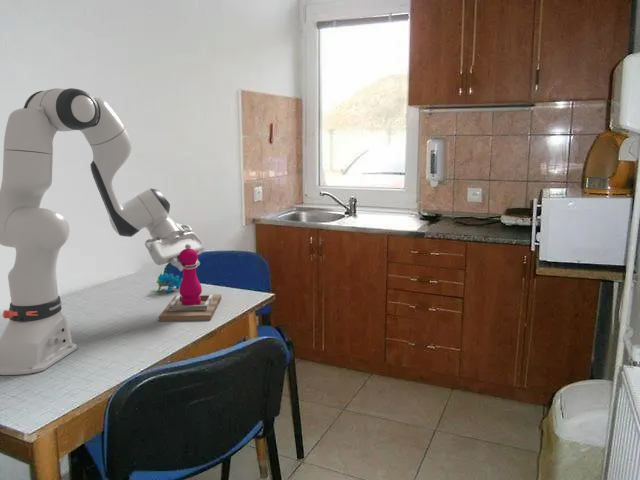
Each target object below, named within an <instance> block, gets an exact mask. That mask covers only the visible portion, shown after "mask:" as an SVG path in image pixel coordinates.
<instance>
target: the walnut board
mask: <svg viewBox="0 0 640 480" xmlns="http://www.w3.org/2000/svg"><path fill="white" fill-rule="evenodd" d="M199 296H200V297H201V303H200V304H198V305H182V301H181V299H182V298H183V297H182V296H181V295H180V294H179V295H178V294H177V295H174V297H173V298H172V299H171V300H170V302H169V303H168V304H167V306H166V307H165V308H164V309H163V311H162V312H161V313H160V314H159V315H158V321H159V322H172V321H173V322H175V321H176V322H178V321H181V322H182V321H184V322H185V321H211V320H212V318H213V317H214V316H215V315H214V314H215V313H216V310H217V309H218V306H219V304H220V302H221V300H222V294H200V295H199Z"/></svg>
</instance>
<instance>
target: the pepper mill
mask: <svg viewBox="0 0 640 480" xmlns="http://www.w3.org/2000/svg"><path fill="white" fill-rule="evenodd" d="M185 248H186V249H184V250H182V251H181V252H180V255H179V259H180V260H179V262H180V263H181V264H184V265H185V266H186V269H185V270H184V271H182V273H183V274H182V278H183V279H182V282H181V285H180V288H178V289H179V291H178V292H179V295H181V296H182V297H183V298H182V299H181V301H182V305H198V304H200V303H201V297H200V296H199V295H202V292H203V288H202V285H201V282H200V281H199V279H198V276H197V268H198V266H197V263H196V261H197V259H198V258H199V255H198V253H197V252H196V251H195V250H194V249H190V248H191V245H190V244H187V245H186V246H185ZM198 260H199V259H198Z"/></svg>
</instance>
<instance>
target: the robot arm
mask: <svg viewBox="0 0 640 480" xmlns="http://www.w3.org/2000/svg"><path fill="white" fill-rule="evenodd" d="M72 131H80V132H81V133H82V134H83V135H84V138H85V139H86V141H87V143H88V144H89V147H90V148H91V151H92V161H91V163H90V164H89V165H90V172H91V175H92V178H93V179H94V182H95V183H94V184H95V186H96V187H97V190H98V193H99V196H100V197H101V199H102V202H103V204H104V206H105V210H106V212H107V215H108V218H109V219H108V220H109V222H110V225H111V227H112V229H113V230H114V231H115V233H116V234H118V235H119V236H120V237H130V238H132V237H133V236H135V235H136V234H137V233H139V232H140V231H141V230H143V229H144V228H145V229H146V230H147V231H148V232H149V235H150V237H151V238H150V239H147V240H146V241H145V243H144V246H145V247H146V249H147V250H148V253H149V256H150V258H151V259H152V260H153V263H154V264H156V265H158V266H162V265H165V264H169V263H170V264H171V265H172V266H173V267H175V268H177V270H179V272H183V271H184V270H185V269H186V266H185V265H184V264H182V262H181V261H180V259H179V255H180V252H181V251H182V250H184V249H186V248H185V246H186V245H187V244H190V245H191V248H190V249H194V250H195V251H196V252H197V253H198V256H199V255H201V254H202V253H203V252H204V251H205V244H204V242H203V241H202V240H201V238H200V237H199V235H197V234H196V233H195V232H194V231H193V228H192V227H191V226H190V225H188V224H181V223H178V222H177V223H176V222H175V221H174V220H173V219H172V218H170V216H169V213H170V209H171V204H170V202H169V201H168V200H167V198H166V197H165V195H163V194H162V192H161V190H159V189H156V188H148V189H146V190H144V191H142V192H140V193H139V194H138V195H136V196H134V197H133V198H131V199H129V200H128V201H126V202H124V203H122V204H121V203H120V202H119V199H118V197H117V194H116V193H115V190H114V187H113V179H114V178H115V176H116V174H117V172H118V171H119V170H120V168H121V167H122V166H123V165H124V164H125V163H126V162H127V160H128V158H129V157H130V155H131V151H132V148H133V147H132V146H133V144H132V139H131V136H130V135H129V132H128V131H127V129H126V127H125V125H124V124H123V122H122V121H121V119H120V117H119V116H118V115H117V113H116V111H114V110H113V108H112V107H111V105H109V103H108V102H107V101H106V100H105V99H103V98H100V97H93V96H92V95H91V94H89V93H88V92H86V91H84V90H82V89H79V88H73V87H72V88H71V87H69V88H58V87H57V88H52V89H51V88H50V89H45V90H39V91H36V92H35V93H33V94H31V95H30V96H29V97H28V98H27V100H26V101H25V103H24V105H23V107H22V108H18V109H15V110H13V111H12V112H11V113H10V114H9V115H8V119H7V122H6V127H5V132H4V133H5V134H4V139H3V140H4V141H3V157H2V158H3V160H2V162H3V163H2V179H1V186H0V245H1V246H4V247H7V248H14V249H15V258H14V260H15V261H14V264H13V267H12V268H11V269H10V270H9V272H8V274H7V281H8V286H9V294H10V303H9V308H8V309H7V310H3V312H2V318H3V319H8V320H9V321H8V323H7V325H6V327H5V329H4V330H3V333H2V334H1V336H0V376H1V375H2V376H14V375H15V376H16V375H28V374H33V373H34V374H35V373H40V372H43V371H45V370H47V369H48V368H50V367H51V366H53V365H54V364H56V363H58V362H59V361H61V360H62V359H63V358H65V357H66V356H68V355H69V354H71V353H73V352H74V351H76V350H77V349H78V346H77V343H74V342H73V339H72V335H71V329H70V325H69V320H68V319H67V317H65V316H64V314H63V313H62V309H63V307H62V300H61V296H60V295H59V289H58V280H57V279H58V278H57V262H58V257H59V254H60V250H61V248H62V247H63V246H64V245H65V244H66V242H67V241H68V239H69V236H70V226H69V223H68V220H67V219H66V218H65V217H64V216H63V215H62V214H60V213H57V212H56V211H53V210H51V209H48V208H42V207H41V208H40V205H41V202H42V199H43V197H44V195H45V193H46V192H47V191H48V190H49V189H50V187H51V185H52V183H53V181H52V180H53V157H54V156H53V155H54V153H53V152H54V151H53V150H54V148H53V147H54V146H53V145H54V143H53V142H54V138H55V135H56V134H57V132H72ZM196 263H197V267H199V266H200V264H201V262H200V261H199V259H197V261H196Z"/></svg>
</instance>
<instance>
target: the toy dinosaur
mask: <svg viewBox="0 0 640 480" xmlns="http://www.w3.org/2000/svg"><path fill="white" fill-rule="evenodd" d="M182 279H183V277H180V276H179V275H175V276H174V274H173V273H167V272H163V274H162V273H160V274H159V276H158V277H157V280H156V284H157V285H158V288H157V292H160V291H161V288H162V287H167V289H166V293H167V294H168V293H169V294H170V291H171V288H174V287H176V288H177V289H179V288H180V285H181V282H182Z"/></svg>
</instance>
